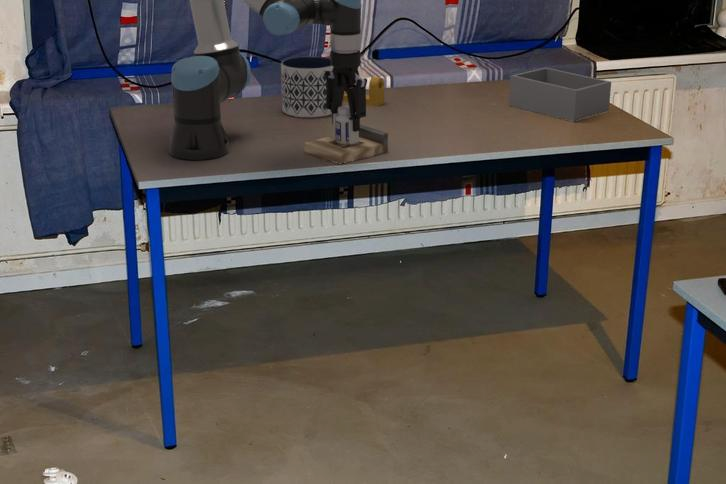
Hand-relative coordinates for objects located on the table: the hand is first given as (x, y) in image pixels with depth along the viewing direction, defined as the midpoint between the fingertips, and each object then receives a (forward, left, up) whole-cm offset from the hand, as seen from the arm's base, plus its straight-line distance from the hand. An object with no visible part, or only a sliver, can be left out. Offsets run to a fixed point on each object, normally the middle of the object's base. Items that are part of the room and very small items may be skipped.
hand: (345, 140), depth 279 cm
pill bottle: (0, 0, 0) cm, 0 cm away
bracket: (+36, +36, -3) cm, 51 cm away
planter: (+18, +37, -3) cm, 41 cm away
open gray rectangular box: (+74, -9, -3) cm, 75 cm away
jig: (0, 0, -3) cm, 3 cm away
